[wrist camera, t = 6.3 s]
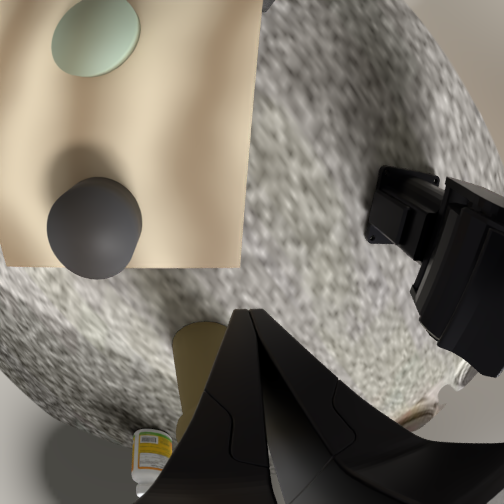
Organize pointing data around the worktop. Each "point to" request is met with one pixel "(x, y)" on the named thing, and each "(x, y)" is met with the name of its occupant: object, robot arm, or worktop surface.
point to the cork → (194, 365)
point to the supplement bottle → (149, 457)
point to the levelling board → (125, 132)
